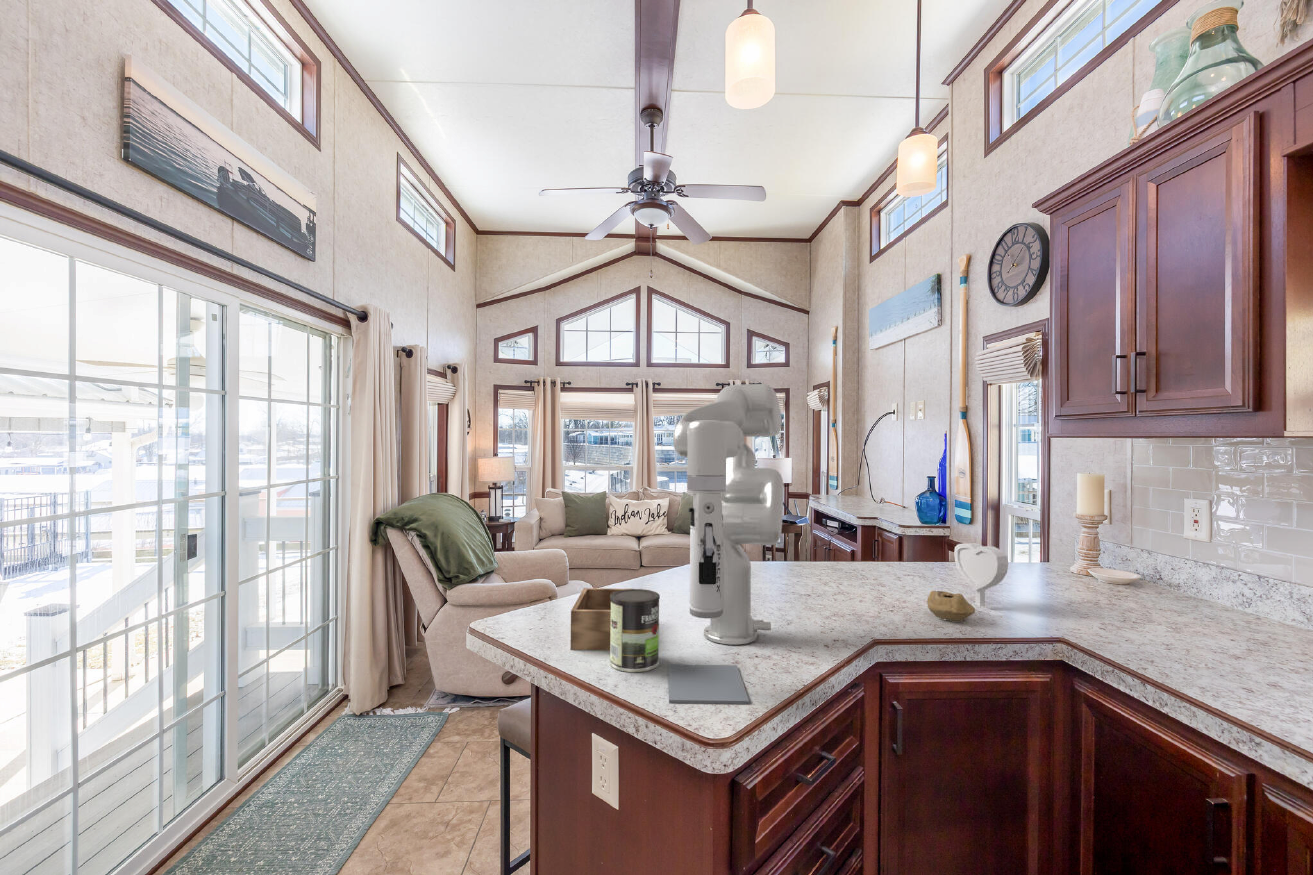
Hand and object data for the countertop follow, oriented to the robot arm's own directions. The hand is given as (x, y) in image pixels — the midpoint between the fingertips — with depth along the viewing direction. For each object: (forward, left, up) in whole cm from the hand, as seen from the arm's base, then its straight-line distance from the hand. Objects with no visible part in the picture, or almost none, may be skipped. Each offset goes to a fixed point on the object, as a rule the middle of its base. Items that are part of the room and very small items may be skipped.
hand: (706, 578), depth 105 cm
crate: (+22, -27, -20) cm, 40 cm away
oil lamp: (-68, -44, -20) cm, 84 cm away
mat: (0, 0, -20) cm, 20 cm away
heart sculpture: (-82, -53, -20) cm, 100 cm away
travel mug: (0, 0, -7) cm, 7 cm away
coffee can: (+14, -10, -20) cm, 26 cm away
